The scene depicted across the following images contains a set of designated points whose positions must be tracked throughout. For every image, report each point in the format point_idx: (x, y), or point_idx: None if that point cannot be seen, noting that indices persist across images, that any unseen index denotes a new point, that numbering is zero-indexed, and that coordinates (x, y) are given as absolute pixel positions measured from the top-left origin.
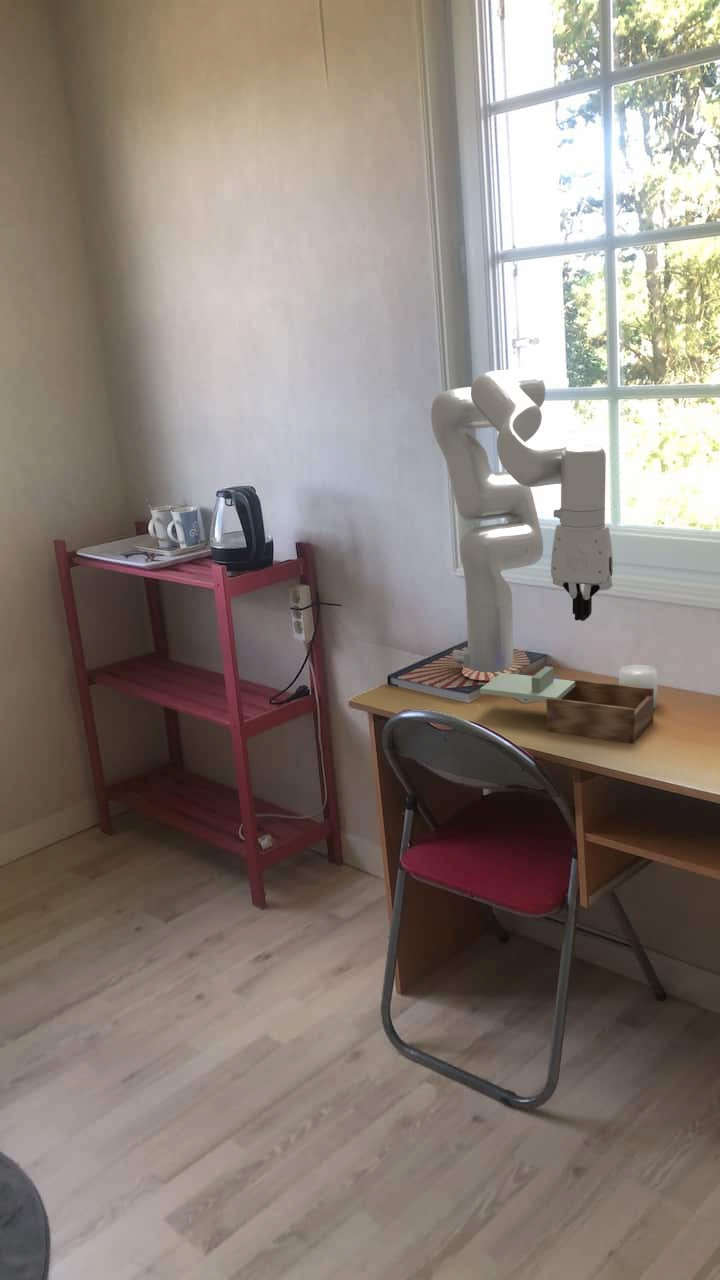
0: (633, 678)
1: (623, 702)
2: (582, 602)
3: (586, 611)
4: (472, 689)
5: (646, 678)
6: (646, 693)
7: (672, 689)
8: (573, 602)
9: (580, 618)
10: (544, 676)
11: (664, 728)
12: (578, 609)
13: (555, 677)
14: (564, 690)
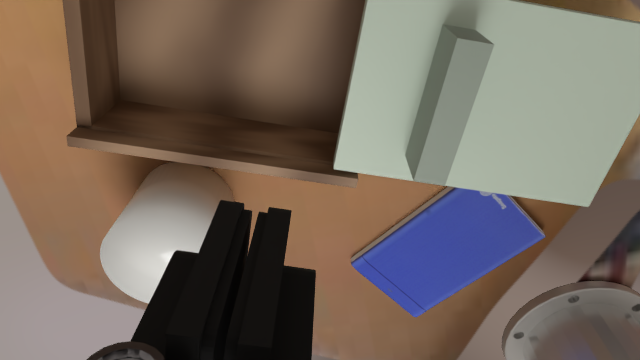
0: (157, 213)
1: (182, 124)
2: (185, 311)
3: (185, 266)
4: (626, 232)
5: (120, 220)
6: (95, 132)
7: (143, 302)
8: (302, 341)
9: (240, 207)
10: (439, 87)
11: (62, 50)
12: (248, 265)
13: (415, 314)
14: (354, 70)
